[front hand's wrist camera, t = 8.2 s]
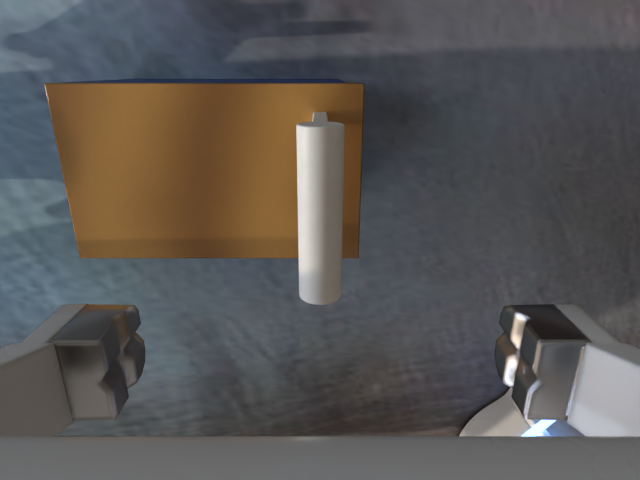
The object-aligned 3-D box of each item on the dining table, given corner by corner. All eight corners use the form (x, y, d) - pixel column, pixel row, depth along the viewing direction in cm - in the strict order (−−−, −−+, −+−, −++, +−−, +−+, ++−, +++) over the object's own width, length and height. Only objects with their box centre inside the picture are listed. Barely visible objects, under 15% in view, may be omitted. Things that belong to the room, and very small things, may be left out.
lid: (362, 83, 24) (386, 90, 15) (357, 251, 27) (373, 331, 19) (55, 82, 24) (-86, 90, 15) (88, 251, 27) (-13, 331, 19)
